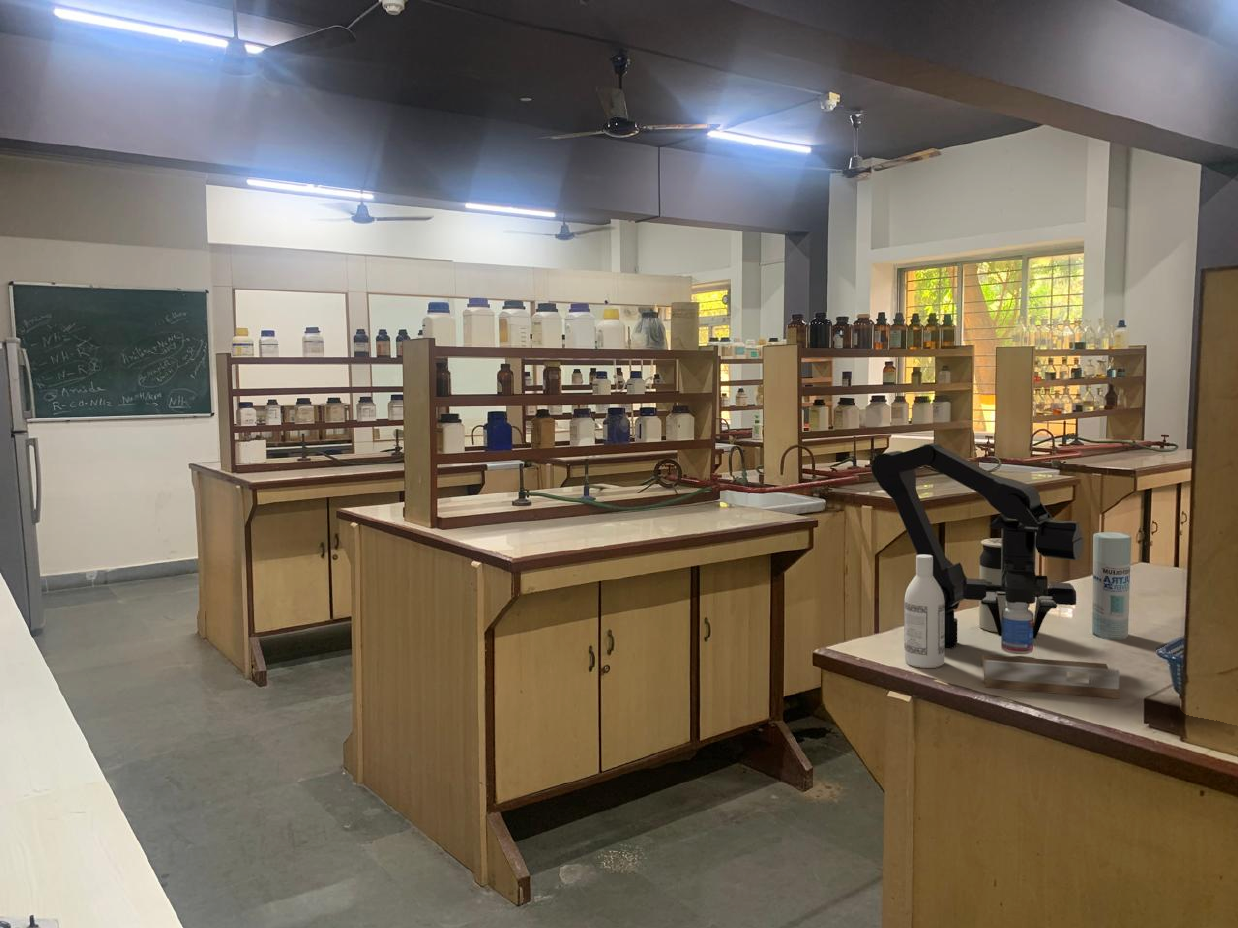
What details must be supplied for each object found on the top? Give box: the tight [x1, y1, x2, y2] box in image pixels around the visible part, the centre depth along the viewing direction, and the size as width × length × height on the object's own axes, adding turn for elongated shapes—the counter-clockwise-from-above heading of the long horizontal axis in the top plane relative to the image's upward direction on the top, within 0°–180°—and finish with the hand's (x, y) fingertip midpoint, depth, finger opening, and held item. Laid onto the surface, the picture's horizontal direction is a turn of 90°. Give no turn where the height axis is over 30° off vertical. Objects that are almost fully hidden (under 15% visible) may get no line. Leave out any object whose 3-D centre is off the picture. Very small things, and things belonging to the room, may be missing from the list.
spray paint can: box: [1091, 531, 1132, 641], centre depth 177 cm, size 6×6×20 cm
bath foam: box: [903, 554, 946, 669], centre depth 165 cm, size 7×7×20 cm
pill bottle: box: [1000, 601, 1034, 655], centre depth 166 cm, size 6×5×10 cm
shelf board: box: [982, 654, 1120, 699], centre depth 155 cm, size 20×13×4 cm, turn 70°
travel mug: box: [978, 538, 1007, 634], centre depth 184 cm, size 8×8×18 cm
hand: (1017, 636), depth 166 cm, fingers closed on pill bottle, 5 cm apart
